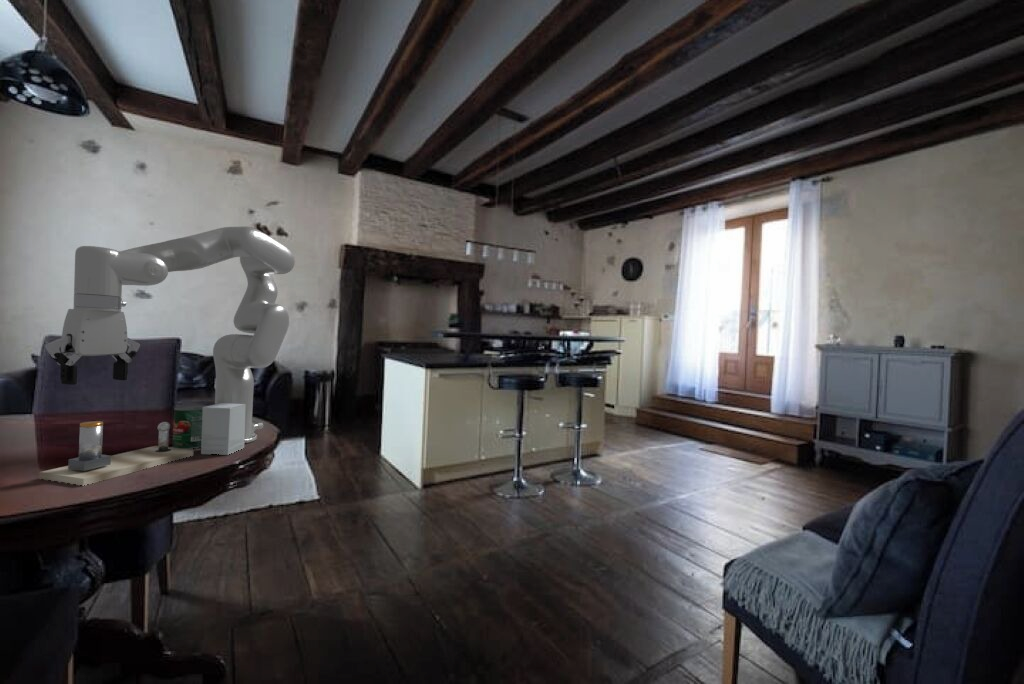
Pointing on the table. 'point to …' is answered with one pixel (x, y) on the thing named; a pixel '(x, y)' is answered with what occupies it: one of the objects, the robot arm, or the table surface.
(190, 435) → the canned tomato
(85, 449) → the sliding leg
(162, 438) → the fixed leg
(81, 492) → the table surface
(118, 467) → the hole plate
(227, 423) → the supplement box
